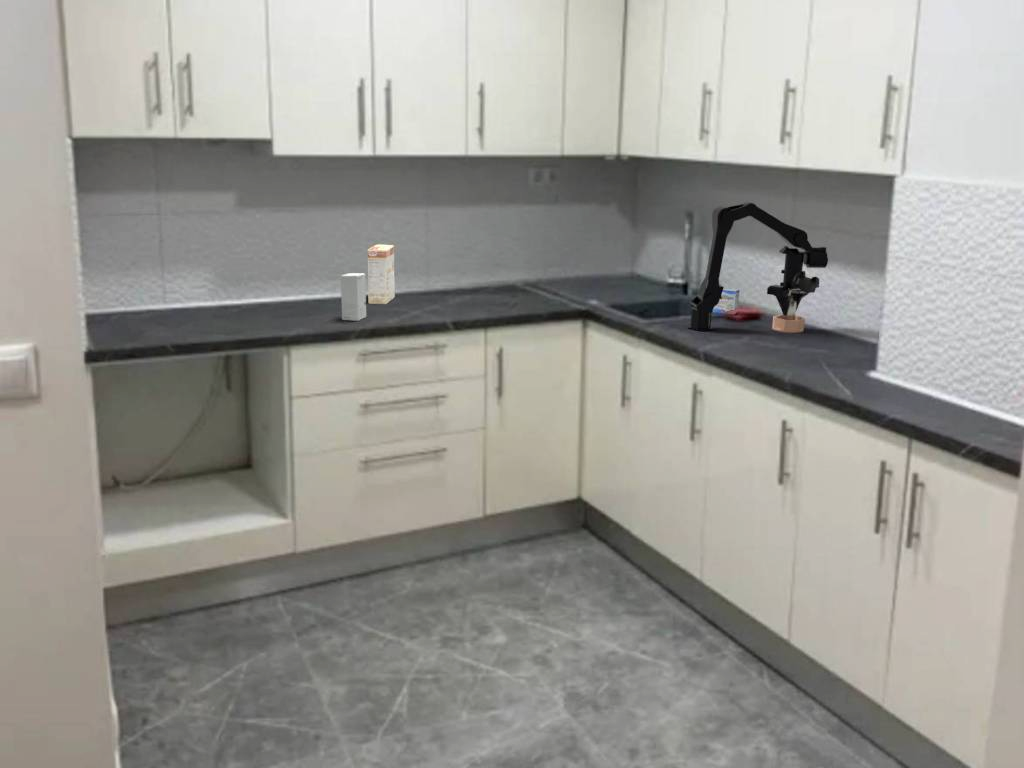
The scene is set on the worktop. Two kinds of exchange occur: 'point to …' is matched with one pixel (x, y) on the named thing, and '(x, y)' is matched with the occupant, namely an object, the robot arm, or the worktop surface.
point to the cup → (788, 324)
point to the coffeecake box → (381, 274)
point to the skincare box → (353, 296)
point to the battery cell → (791, 310)
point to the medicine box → (727, 301)
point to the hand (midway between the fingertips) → (789, 314)
